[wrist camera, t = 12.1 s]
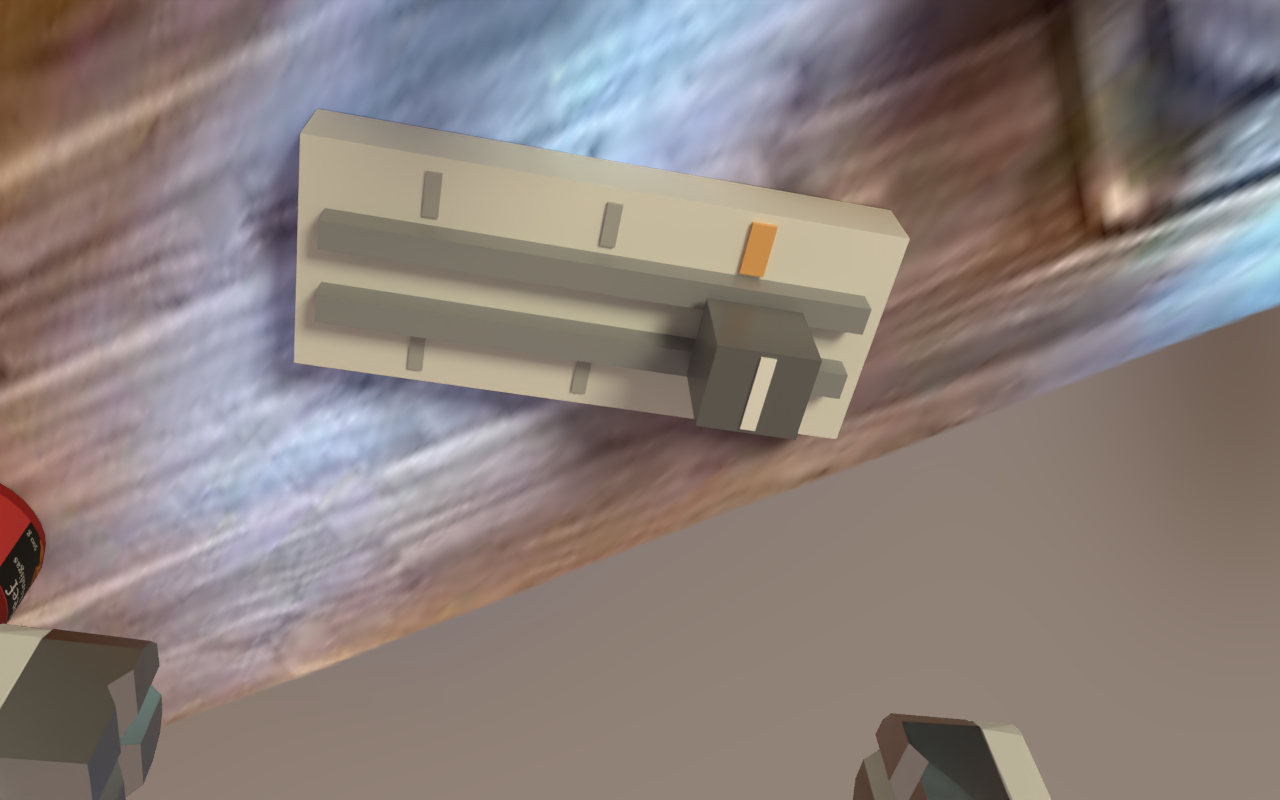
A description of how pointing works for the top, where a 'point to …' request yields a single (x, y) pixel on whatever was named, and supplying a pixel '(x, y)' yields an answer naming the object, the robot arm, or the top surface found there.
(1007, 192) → the top surface
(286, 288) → the top surface
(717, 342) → the fader tab
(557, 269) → the fader console
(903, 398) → the top surface
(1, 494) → the canned food
